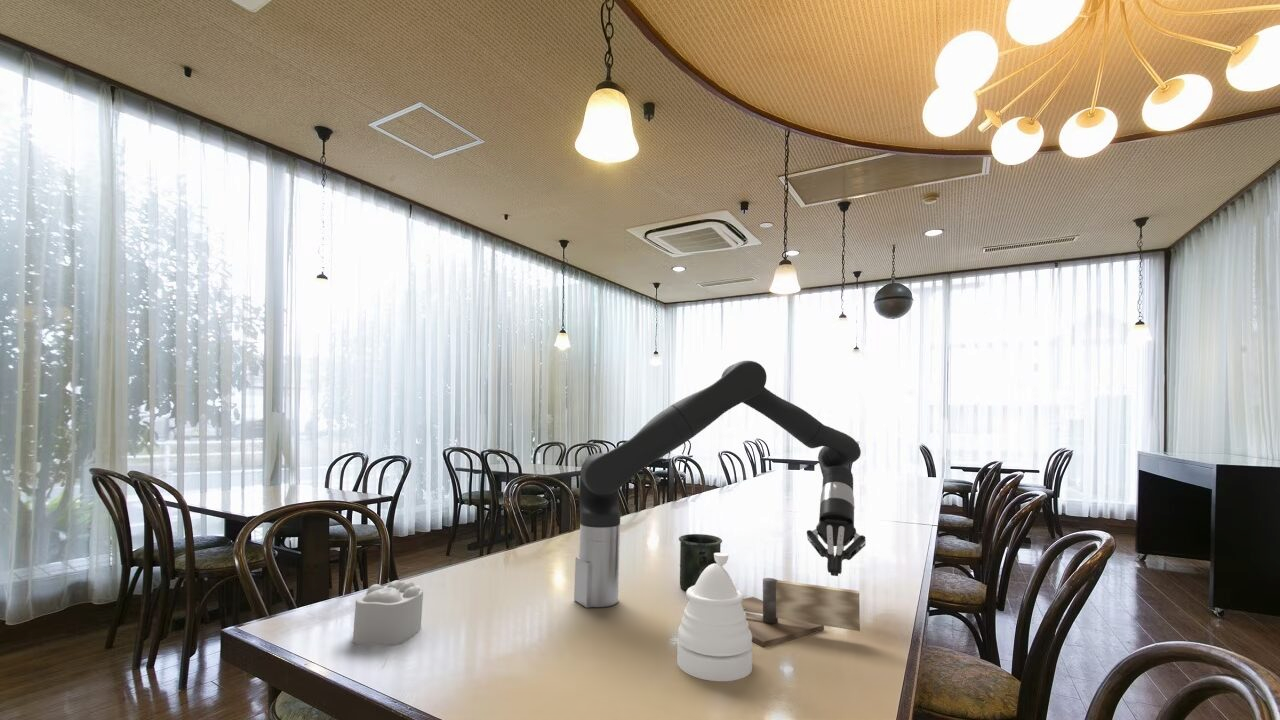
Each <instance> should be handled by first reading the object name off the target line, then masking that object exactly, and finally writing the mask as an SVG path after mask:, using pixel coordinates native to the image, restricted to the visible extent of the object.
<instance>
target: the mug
mask: <svg viewBox="0 0 1280 720" xmlns="http://www.w3.org/2000/svg"><path fill="white" fill-rule="evenodd" d="M678 541H679V543H680V545H679V546H680V548H679V549H680V550H679V552H680V553H679V556H680V557H679V562H680V563H679V587H680V588H681V589H682V590H684V591H685V592H686V591H687V590H688V588H690V587H691V586H694V585H695V584H696V582H697V580H698V578H699V577H700V575H701V573H702V572H703V571H704V570H705V568H706V567H708V566H709V565H711V564H717V563H716V561H715V558H714V553H721V546H722V545H721V544H723V539H722V538H720V537H718V536H716V535H710V534H705V533H704V534H702V533H701V534H700V533H690V534H684V535H683V534H682V535H681V536H679V537H678Z"/></svg>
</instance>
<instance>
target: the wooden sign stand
mask: <svg viewBox="0 0 1280 720" xmlns="http://www.w3.org/2000/svg"><path fill="white" fill-rule="evenodd" d="M741 604H742V607H743V610H744V611H745V612H752V613H758V614H763V599H760V598H757V597H755V596H751V597H746V598H745V597H744V598H743V600H742V601H741ZM746 620H747V622H748V625H749V626H748V628H749V630H750V631H751V634H752V643H754V644H756V645H758V646H761V647H762V648H767V647H770V646H775V645H777V644H780V643H784V642H788V641H791V640H795V639H798V638H802V637H804V636H809V635H811V634H815V633H819V632H822V630H823V631H825V626H824V625H817V624H811V623H805V622H799V621H792V620H786V619H780V618H778V622H777V623H766V622H764V621H763V618H757V617H750V616H746Z"/></svg>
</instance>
